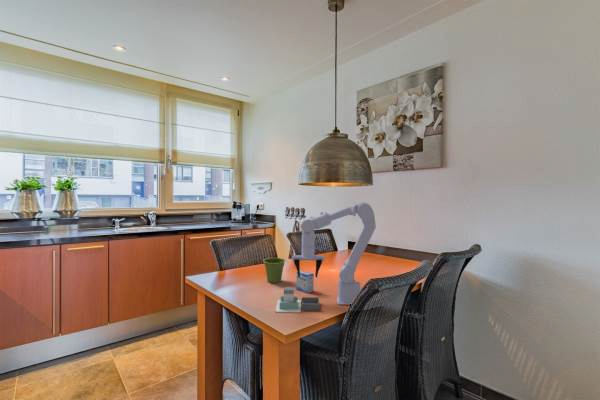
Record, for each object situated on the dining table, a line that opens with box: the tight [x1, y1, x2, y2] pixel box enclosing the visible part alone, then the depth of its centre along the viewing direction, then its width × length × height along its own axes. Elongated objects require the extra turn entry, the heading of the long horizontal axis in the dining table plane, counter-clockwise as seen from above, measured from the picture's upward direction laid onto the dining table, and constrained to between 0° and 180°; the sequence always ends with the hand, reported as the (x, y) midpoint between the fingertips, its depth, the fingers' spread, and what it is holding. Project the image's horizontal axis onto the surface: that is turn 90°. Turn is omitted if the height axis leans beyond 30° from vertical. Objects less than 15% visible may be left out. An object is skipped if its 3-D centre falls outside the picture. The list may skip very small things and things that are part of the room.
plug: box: [283, 286, 295, 302], centre depth 125 cm, size 4×4×7 cm
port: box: [275, 295, 302, 314], centre depth 125 cm, size 10×13×3 cm
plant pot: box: [262, 257, 286, 284], centre depth 160 cm, size 12×12×11 cm
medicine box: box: [295, 270, 315, 294], centre depth 146 cm, size 8×4×9 cm, turn 45°
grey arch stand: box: [301, 296, 321, 311], centre depth 125 cm, size 7×8×2 cm
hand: (307, 276), depth 134 cm, fingers open, 7 cm apart
